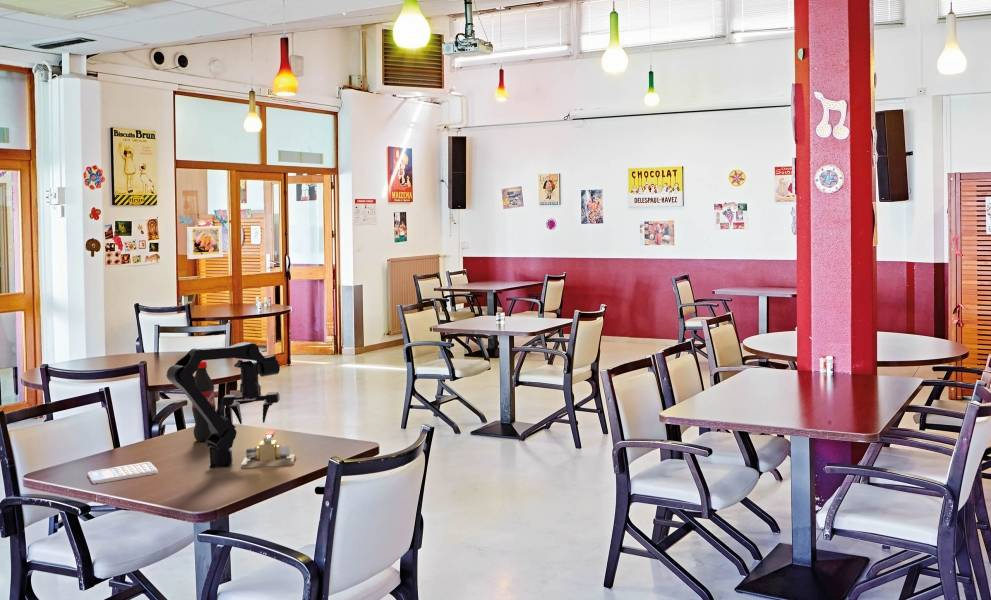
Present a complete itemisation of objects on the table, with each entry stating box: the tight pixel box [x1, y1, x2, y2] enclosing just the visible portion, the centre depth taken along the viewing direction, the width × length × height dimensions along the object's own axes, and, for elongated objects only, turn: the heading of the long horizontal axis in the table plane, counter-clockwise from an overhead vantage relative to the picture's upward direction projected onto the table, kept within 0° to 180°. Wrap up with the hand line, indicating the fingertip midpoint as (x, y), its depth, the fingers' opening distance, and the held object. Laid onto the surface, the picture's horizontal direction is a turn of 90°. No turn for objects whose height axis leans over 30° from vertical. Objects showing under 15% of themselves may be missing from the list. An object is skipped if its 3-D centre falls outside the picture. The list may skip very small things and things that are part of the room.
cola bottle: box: [191, 360, 216, 443], centre depth 343 cm, size 8×8×30 cm
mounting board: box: [240, 453, 297, 469], centre depth 309 cm, size 17×9×1 cm, turn 97°
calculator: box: [87, 461, 159, 485], centre depth 302 cm, size 13×20×2 cm, turn 121°
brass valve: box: [245, 439, 291, 462], centre depth 309 cm, size 14×5×6 cm, turn 97°
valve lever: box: [263, 429, 276, 442], centre depth 314 cm, size 12×3×1 cm, turn 7°
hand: (252, 423), depth 316 cm, fingers open, 7 cm apart
